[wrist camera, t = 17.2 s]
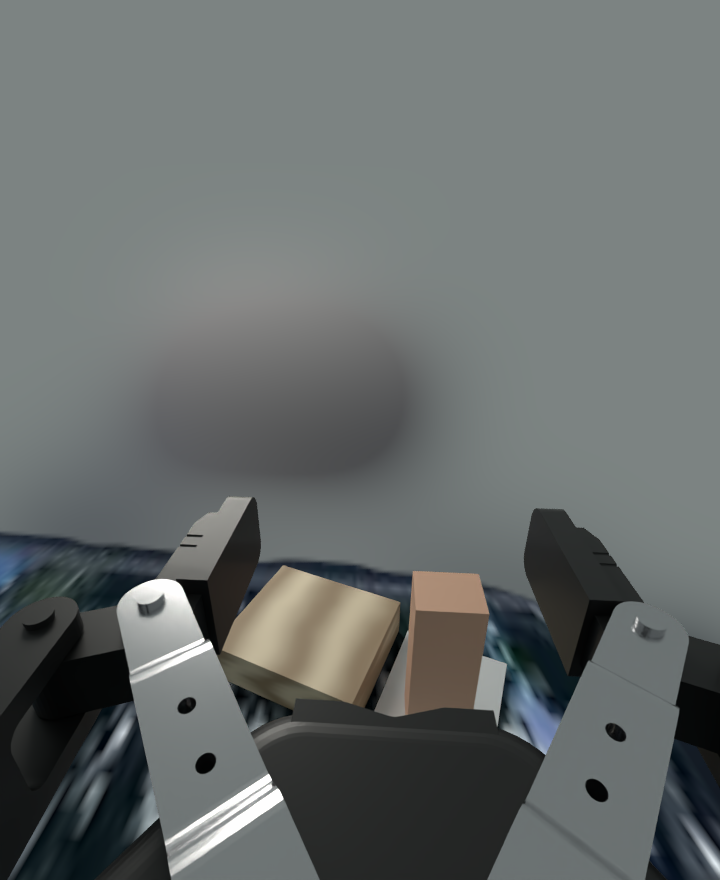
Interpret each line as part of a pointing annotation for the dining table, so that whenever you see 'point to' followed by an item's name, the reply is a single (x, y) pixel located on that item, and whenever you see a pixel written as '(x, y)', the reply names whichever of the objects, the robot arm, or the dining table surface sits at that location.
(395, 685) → the mat
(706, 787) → the dining table surface
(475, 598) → the tall tan block
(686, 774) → the dining table surface
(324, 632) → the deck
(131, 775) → the dining table surface
